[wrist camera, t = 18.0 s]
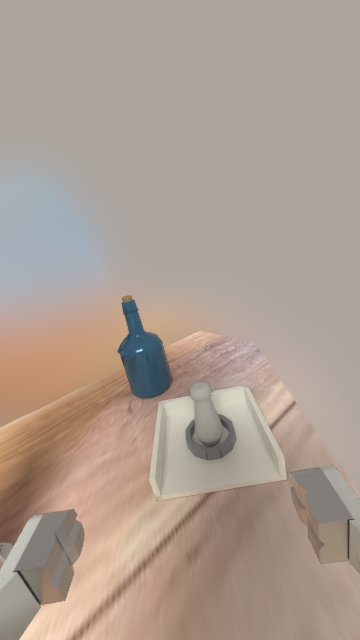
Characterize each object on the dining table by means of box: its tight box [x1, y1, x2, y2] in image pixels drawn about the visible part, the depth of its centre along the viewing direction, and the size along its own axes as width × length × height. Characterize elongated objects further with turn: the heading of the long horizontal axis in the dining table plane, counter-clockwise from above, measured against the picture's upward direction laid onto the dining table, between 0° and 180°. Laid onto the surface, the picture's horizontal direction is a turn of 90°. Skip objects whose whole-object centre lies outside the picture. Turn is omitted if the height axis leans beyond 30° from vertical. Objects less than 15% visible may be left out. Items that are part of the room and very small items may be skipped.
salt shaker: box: [189, 381, 223, 447], centre depth 45 cm, size 6×6×13 cm
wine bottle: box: [117, 296, 172, 398], centre depth 68 cm, size 14×13×30 cm
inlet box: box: [149, 385, 287, 501], centre depth 46 cm, size 20×22×5 cm
